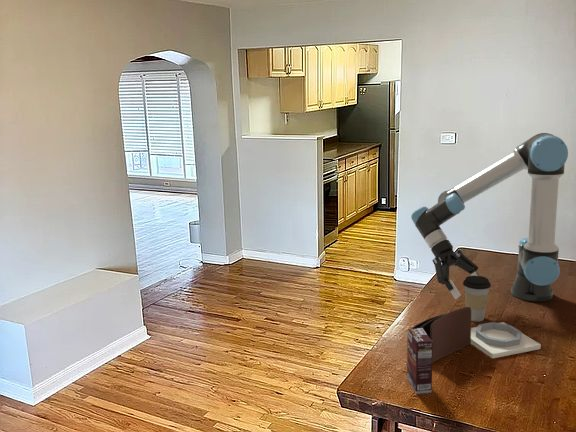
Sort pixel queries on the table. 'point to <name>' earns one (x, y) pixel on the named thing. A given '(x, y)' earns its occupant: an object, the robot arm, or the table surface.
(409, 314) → the table surface
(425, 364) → the supplement box
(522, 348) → the dock board
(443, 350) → the letter holder
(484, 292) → the coffee cup
